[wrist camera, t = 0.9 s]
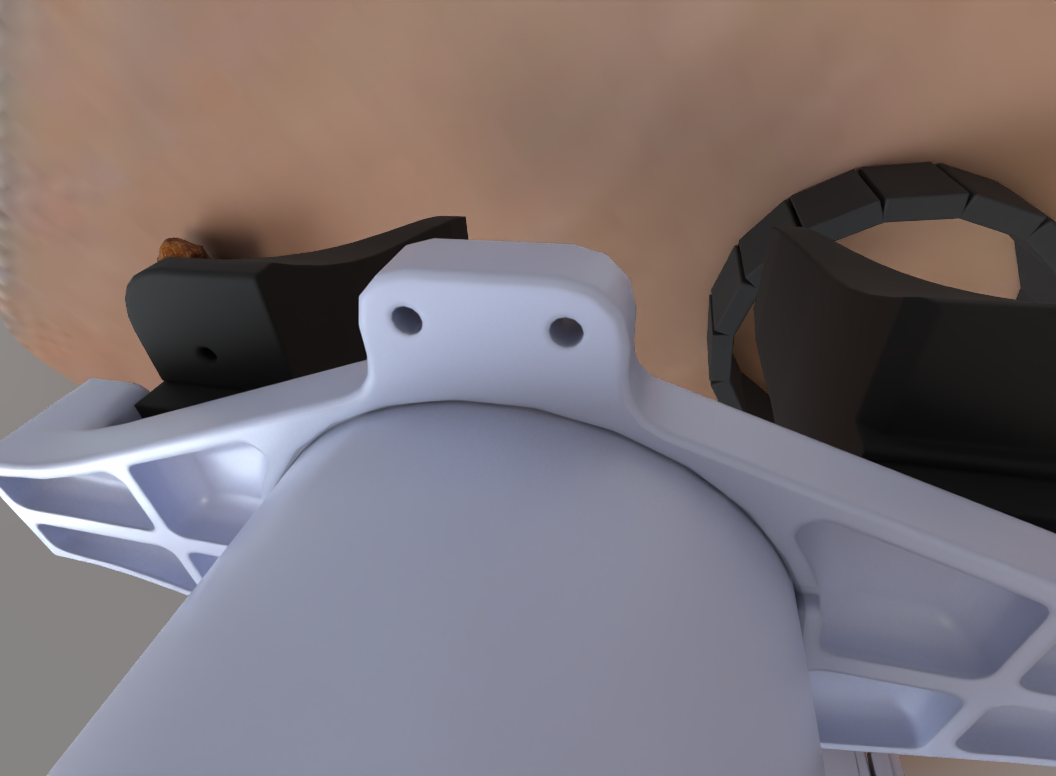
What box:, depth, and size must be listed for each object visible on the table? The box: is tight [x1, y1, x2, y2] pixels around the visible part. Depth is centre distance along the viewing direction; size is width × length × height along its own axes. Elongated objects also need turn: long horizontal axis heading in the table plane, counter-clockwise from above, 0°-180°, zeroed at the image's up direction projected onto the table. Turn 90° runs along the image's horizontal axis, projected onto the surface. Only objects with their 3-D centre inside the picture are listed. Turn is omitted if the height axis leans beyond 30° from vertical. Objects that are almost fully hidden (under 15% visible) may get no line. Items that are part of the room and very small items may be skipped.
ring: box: [707, 162, 1056, 424], centre depth 21 cm, size 12×12×3 cm
